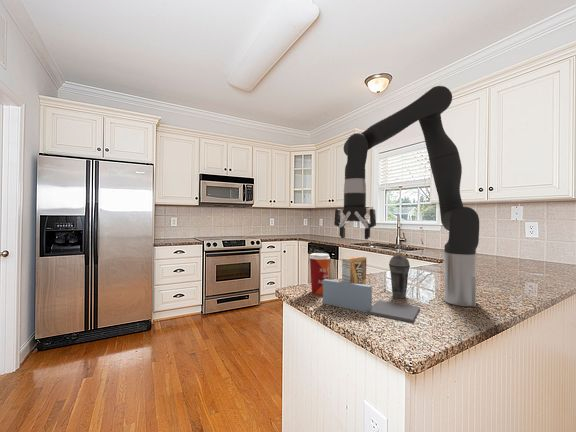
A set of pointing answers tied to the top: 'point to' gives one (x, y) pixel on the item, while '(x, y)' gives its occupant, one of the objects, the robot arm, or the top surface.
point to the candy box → (354, 270)
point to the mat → (394, 311)
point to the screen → (347, 295)
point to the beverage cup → (399, 275)
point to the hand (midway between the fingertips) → (354, 238)
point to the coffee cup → (318, 271)
